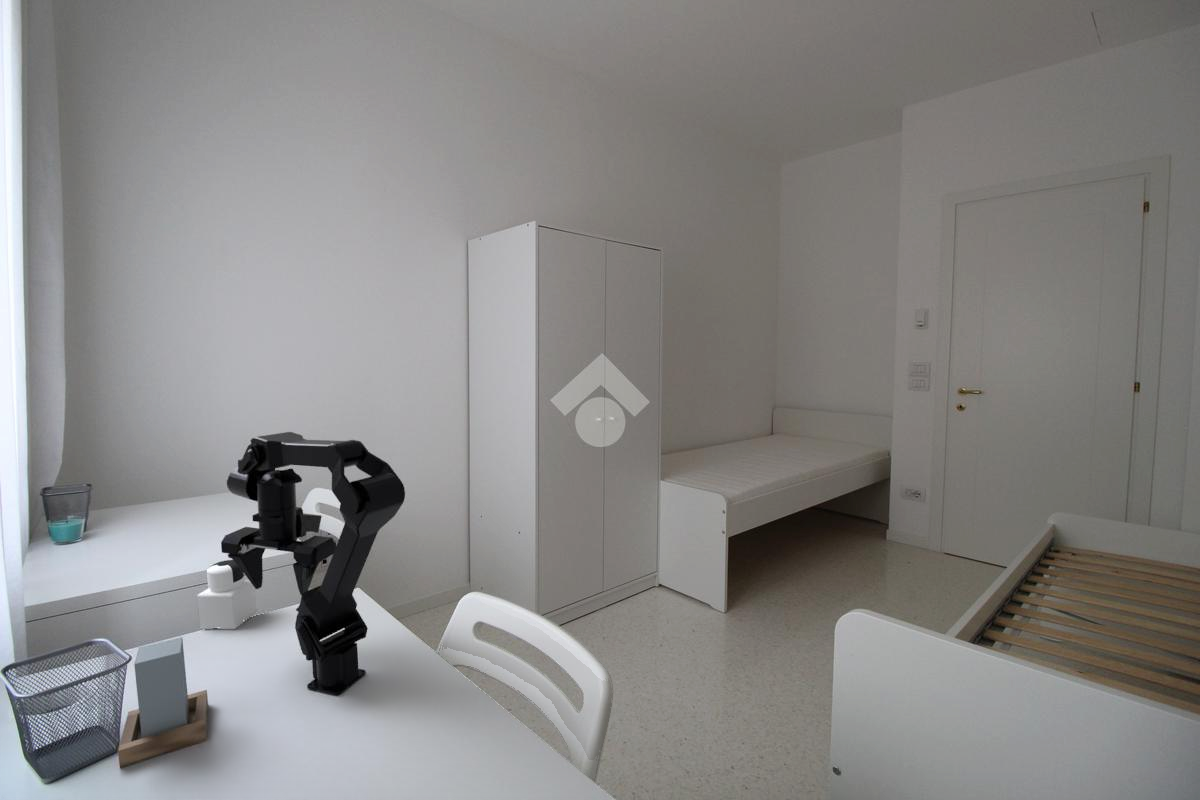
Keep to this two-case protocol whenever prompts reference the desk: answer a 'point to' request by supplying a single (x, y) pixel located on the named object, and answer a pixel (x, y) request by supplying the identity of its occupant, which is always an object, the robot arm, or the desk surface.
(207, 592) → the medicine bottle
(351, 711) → the desk surface
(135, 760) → the walnut socket
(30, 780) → the desk surface
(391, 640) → the desk surface
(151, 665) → the grey key block
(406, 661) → the desk surface
